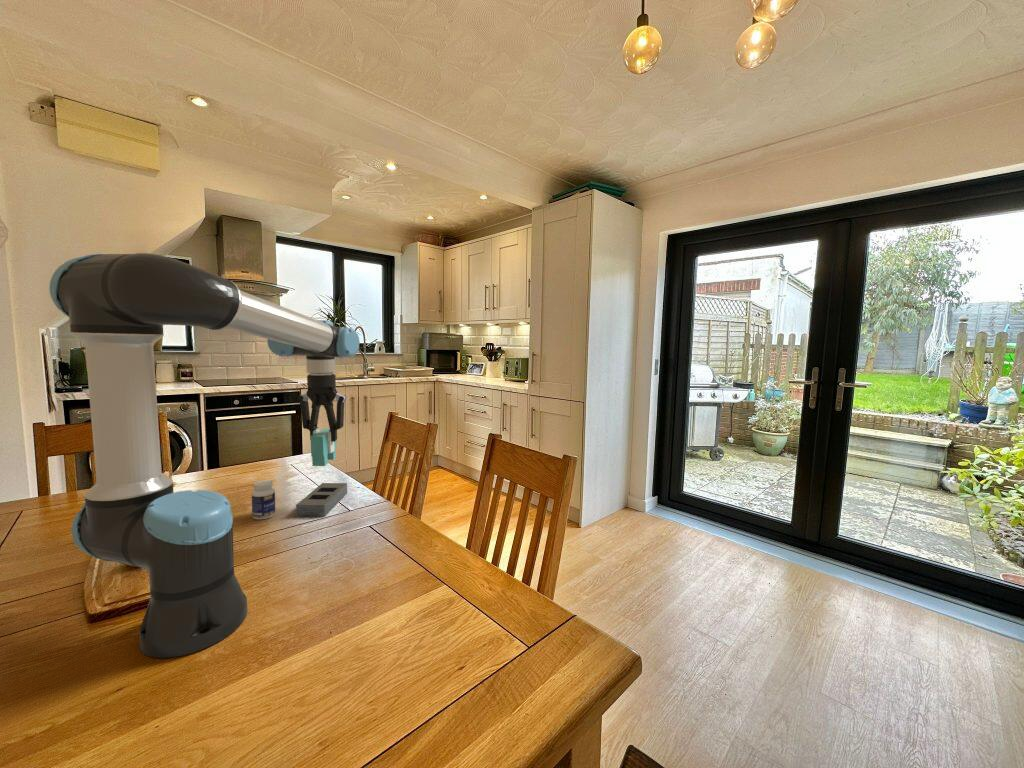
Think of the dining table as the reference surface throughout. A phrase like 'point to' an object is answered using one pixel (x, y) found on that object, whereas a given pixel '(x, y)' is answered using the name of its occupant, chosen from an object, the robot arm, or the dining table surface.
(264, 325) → the robot arm
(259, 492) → the pill bottle
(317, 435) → the clip
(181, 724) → the dining table surface
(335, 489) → the rail
